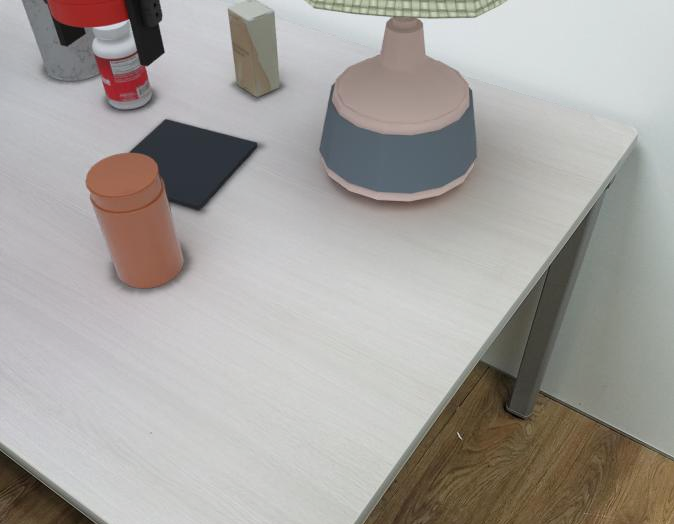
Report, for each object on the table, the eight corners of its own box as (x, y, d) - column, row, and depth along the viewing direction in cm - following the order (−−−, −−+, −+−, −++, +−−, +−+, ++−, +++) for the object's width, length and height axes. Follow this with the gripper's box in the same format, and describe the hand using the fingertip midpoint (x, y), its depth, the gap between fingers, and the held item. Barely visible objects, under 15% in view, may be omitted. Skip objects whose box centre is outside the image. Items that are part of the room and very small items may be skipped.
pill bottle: (107, 91, 99) (84, 13, 91) (150, 84, 100) (131, 6, 92) (109, 114, 95) (85, 35, 87) (154, 107, 96) (135, 28, 88)
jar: (103, 277, 75) (67, 185, 66) (142, 235, 79) (114, 144, 70) (159, 296, 73) (131, 204, 64) (196, 253, 77) (174, 161, 68)
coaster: (102, 181, 86) (101, 177, 85) (166, 122, 94) (165, 118, 93) (199, 210, 82) (198, 206, 81) (257, 146, 90) (257, 142, 89)
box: (235, 84, 100) (224, 6, 91) (260, 73, 102) (251, -4, 93) (257, 99, 97) (248, 19, 89) (282, 87, 99) (275, 9, 91)
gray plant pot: (121, 50, 107) (98, -34, 98) (96, 83, 101) (69, -4, 92) (62, 46, 108) (34, -38, 99) (34, 78, 102) (2, -8, 93)
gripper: (-135, -278, 48) (-5, 44, 65) (116, -257, 41) (186, 93, 59) (-52, -297, 52) (49, 10, 69) (186, -280, 46) (232, 53, 63)
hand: (112, 48), depth 64 cm, fingers closed on lid, 8 cm apart
